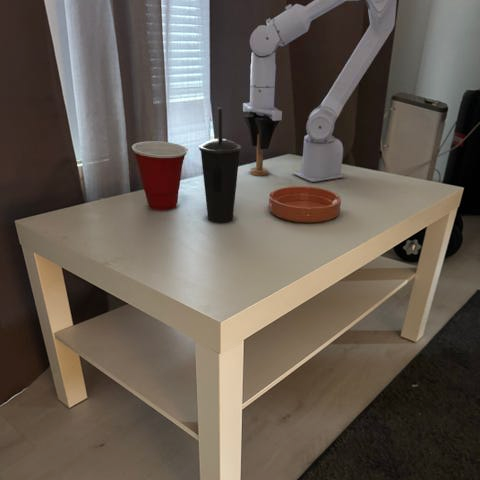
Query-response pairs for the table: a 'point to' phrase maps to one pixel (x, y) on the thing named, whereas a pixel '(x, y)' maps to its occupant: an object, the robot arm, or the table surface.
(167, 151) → the plastic cup
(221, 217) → the drinking cup
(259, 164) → the stirring stick
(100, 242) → the table surface
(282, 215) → the bowl
